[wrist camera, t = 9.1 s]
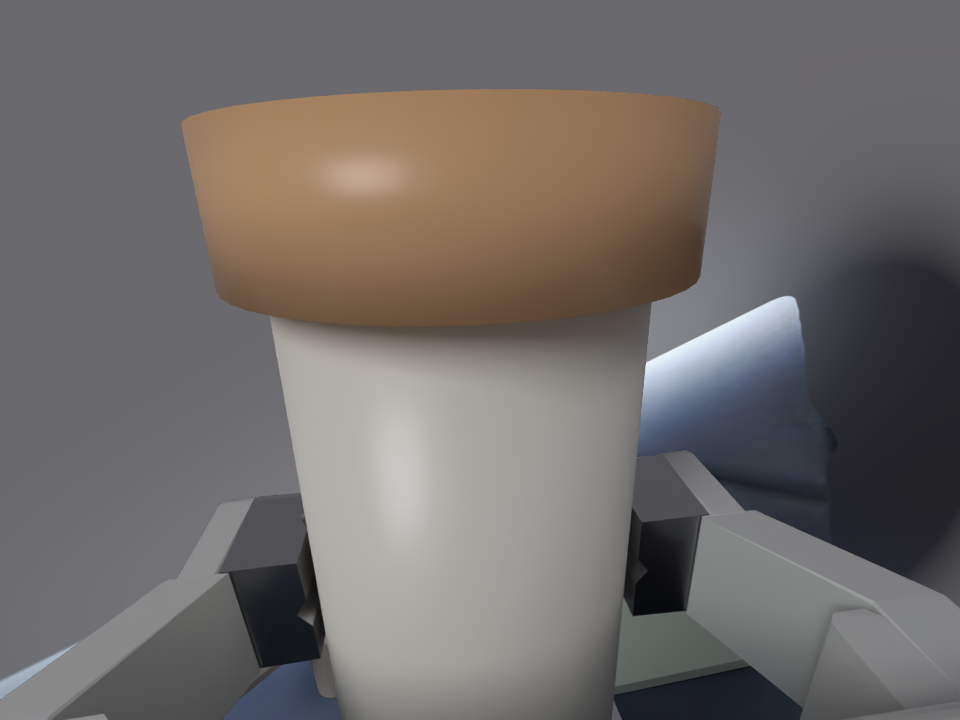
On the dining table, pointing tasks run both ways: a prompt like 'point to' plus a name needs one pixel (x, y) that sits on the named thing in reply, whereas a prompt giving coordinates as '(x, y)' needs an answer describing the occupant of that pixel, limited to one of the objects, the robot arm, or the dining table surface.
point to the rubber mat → (667, 651)
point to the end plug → (461, 367)
